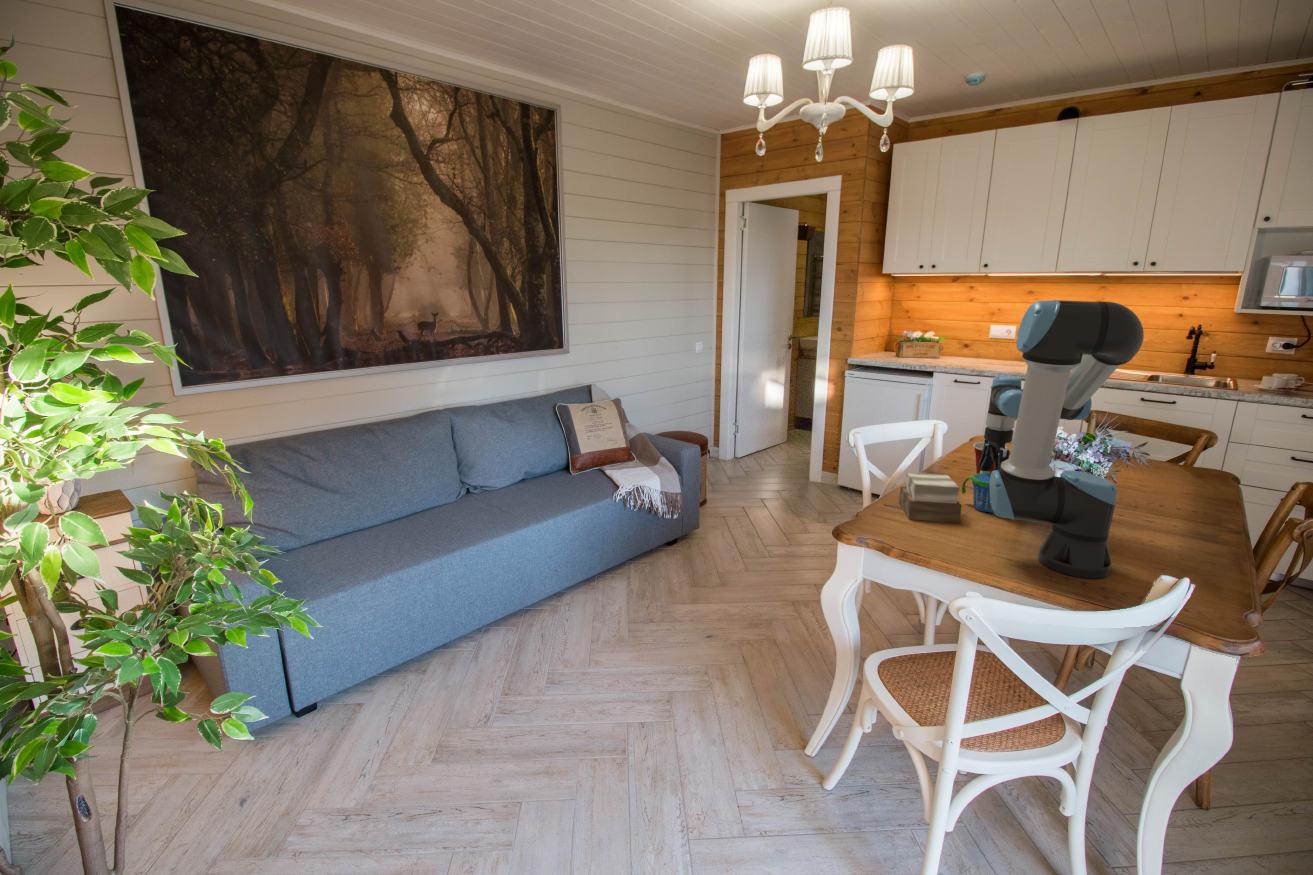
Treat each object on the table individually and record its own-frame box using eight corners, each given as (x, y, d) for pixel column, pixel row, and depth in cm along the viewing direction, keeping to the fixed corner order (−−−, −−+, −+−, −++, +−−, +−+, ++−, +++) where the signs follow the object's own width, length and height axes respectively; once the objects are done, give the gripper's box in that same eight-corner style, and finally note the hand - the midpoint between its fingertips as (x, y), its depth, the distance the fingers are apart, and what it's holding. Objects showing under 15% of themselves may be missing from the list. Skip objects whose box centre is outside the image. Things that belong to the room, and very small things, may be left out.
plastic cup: (961, 473, 229) (966, 442, 226) (985, 471, 232) (990, 440, 229) (984, 482, 219) (990, 449, 216) (1009, 480, 222) (1014, 447, 219)
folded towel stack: (959, 522, 182) (964, 488, 179) (908, 519, 184) (913, 485, 181) (945, 506, 195) (950, 474, 192) (898, 502, 197) (902, 471, 195)
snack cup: (953, 505, 196) (958, 474, 193) (969, 499, 202) (973, 469, 200) (1005, 520, 184) (1011, 488, 181) (1020, 513, 190) (1025, 481, 188)
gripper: (1028, 437, 175) (1016, 511, 180) (999, 420, 197) (988, 485, 203) (1000, 436, 176) (988, 509, 182) (973, 418, 198) (964, 484, 204)
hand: (988, 496), depth 192 cm, fingers closed on snack cup, 11 cm apart
